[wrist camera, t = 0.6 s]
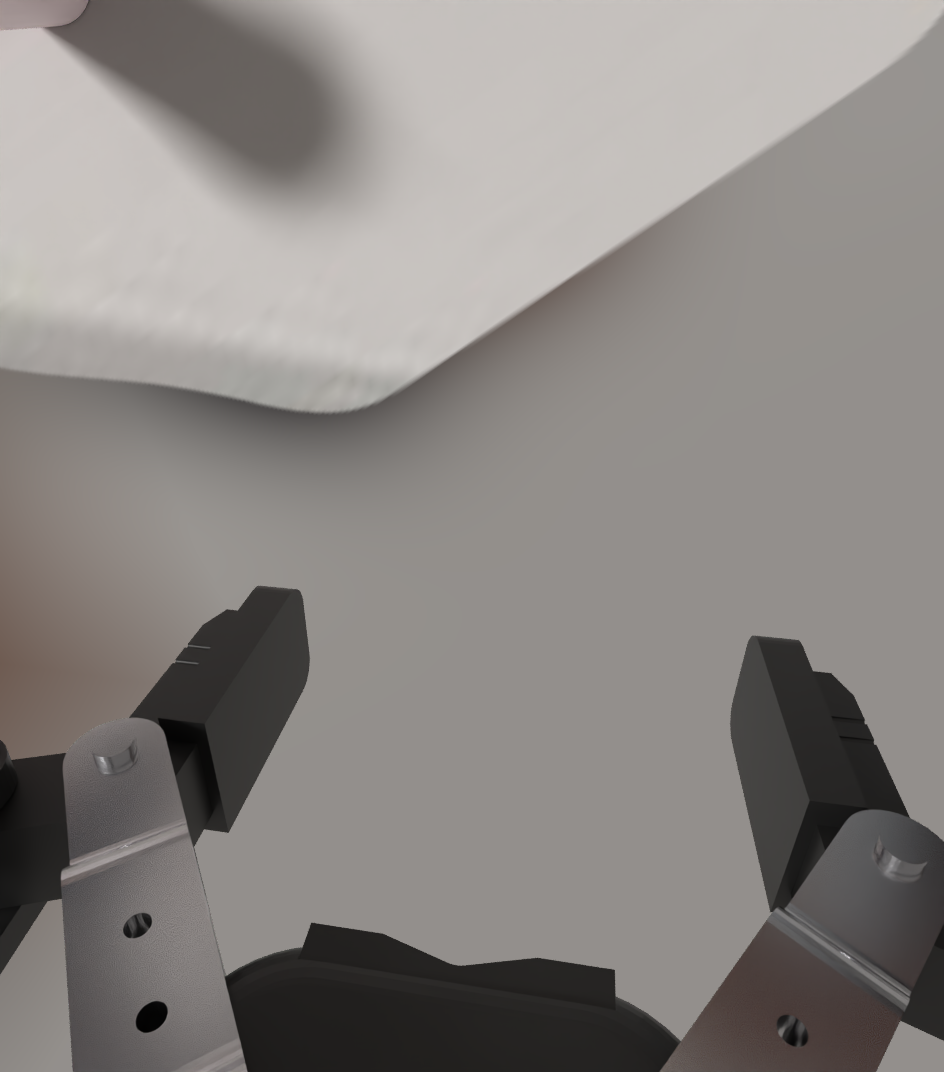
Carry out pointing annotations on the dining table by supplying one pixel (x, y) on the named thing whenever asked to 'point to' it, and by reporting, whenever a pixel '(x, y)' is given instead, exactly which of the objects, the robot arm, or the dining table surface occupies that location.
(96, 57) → the dining table surface
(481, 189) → the dining table surface
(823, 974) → the robot arm
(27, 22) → the smoothie
